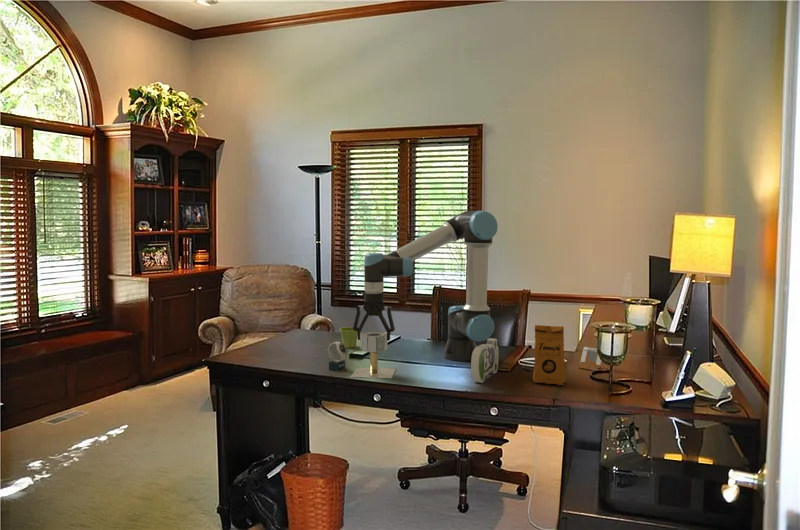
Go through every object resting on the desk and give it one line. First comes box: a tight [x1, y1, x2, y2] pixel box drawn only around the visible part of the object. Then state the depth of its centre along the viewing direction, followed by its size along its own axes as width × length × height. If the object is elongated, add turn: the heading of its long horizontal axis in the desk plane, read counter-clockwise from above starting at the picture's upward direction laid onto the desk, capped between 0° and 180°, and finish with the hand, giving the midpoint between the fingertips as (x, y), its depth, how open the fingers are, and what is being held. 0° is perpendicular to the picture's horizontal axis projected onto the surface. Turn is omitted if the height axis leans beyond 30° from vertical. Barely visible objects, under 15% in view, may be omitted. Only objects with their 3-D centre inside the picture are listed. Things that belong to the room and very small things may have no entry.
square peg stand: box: [350, 352, 397, 379], centre depth 250 cm, size 16×14×11 cm
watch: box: [327, 341, 348, 372], centre depth 257 cm, size 6×8×11 cm
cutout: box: [470, 337, 499, 384], centre depth 244 cm, size 15×3×25 cm
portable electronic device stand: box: [580, 346, 602, 366], centre depth 259 cm, size 9×8×8 cm
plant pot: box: [339, 326, 358, 349], centre depth 298 cm, size 9×9×9 cm
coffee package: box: [532, 324, 567, 386], centre depth 237 cm, size 10×12×22 cm
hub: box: [361, 331, 386, 353], centre depth 250 cm, size 9×9×6 cm
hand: (373, 348), depth 250 cm, fingers closed on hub, 9 cm apart
